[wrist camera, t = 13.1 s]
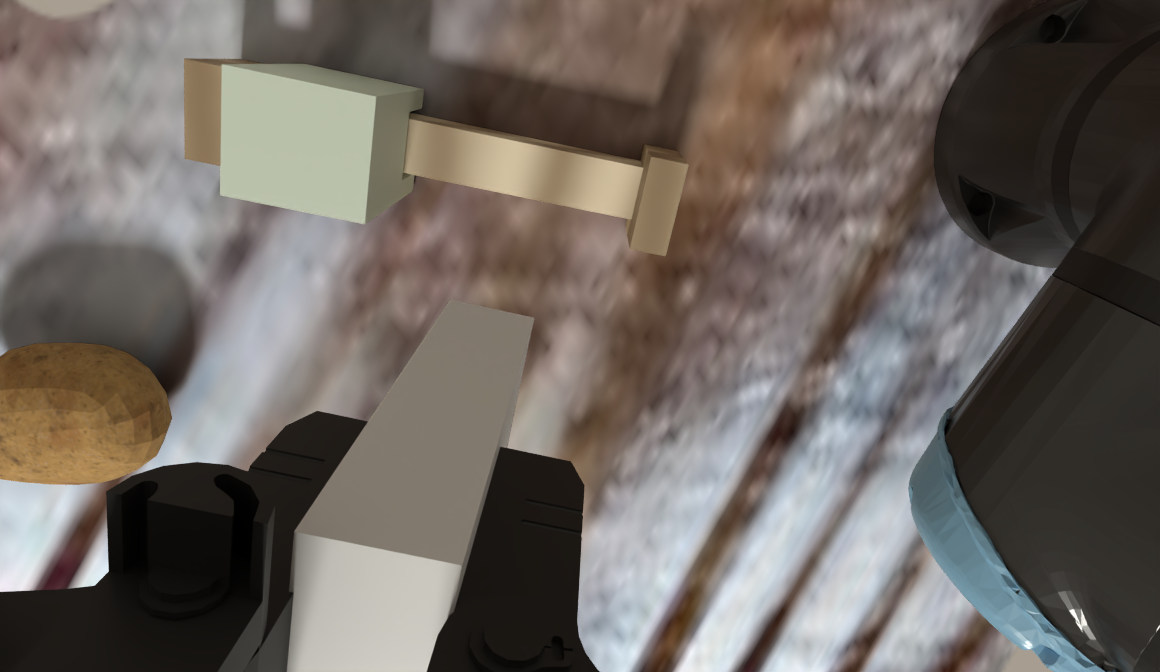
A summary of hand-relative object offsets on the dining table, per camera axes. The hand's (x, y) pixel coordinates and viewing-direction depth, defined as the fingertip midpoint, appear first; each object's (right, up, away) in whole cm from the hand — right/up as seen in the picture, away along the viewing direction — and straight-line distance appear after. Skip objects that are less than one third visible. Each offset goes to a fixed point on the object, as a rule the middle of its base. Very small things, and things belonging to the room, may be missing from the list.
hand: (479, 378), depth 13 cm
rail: (-6, +12, +30) cm, 33 cm away
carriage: (-11, +13, +29) cm, 34 cm away
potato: (-31, -3, +36) cm, 48 cm away
